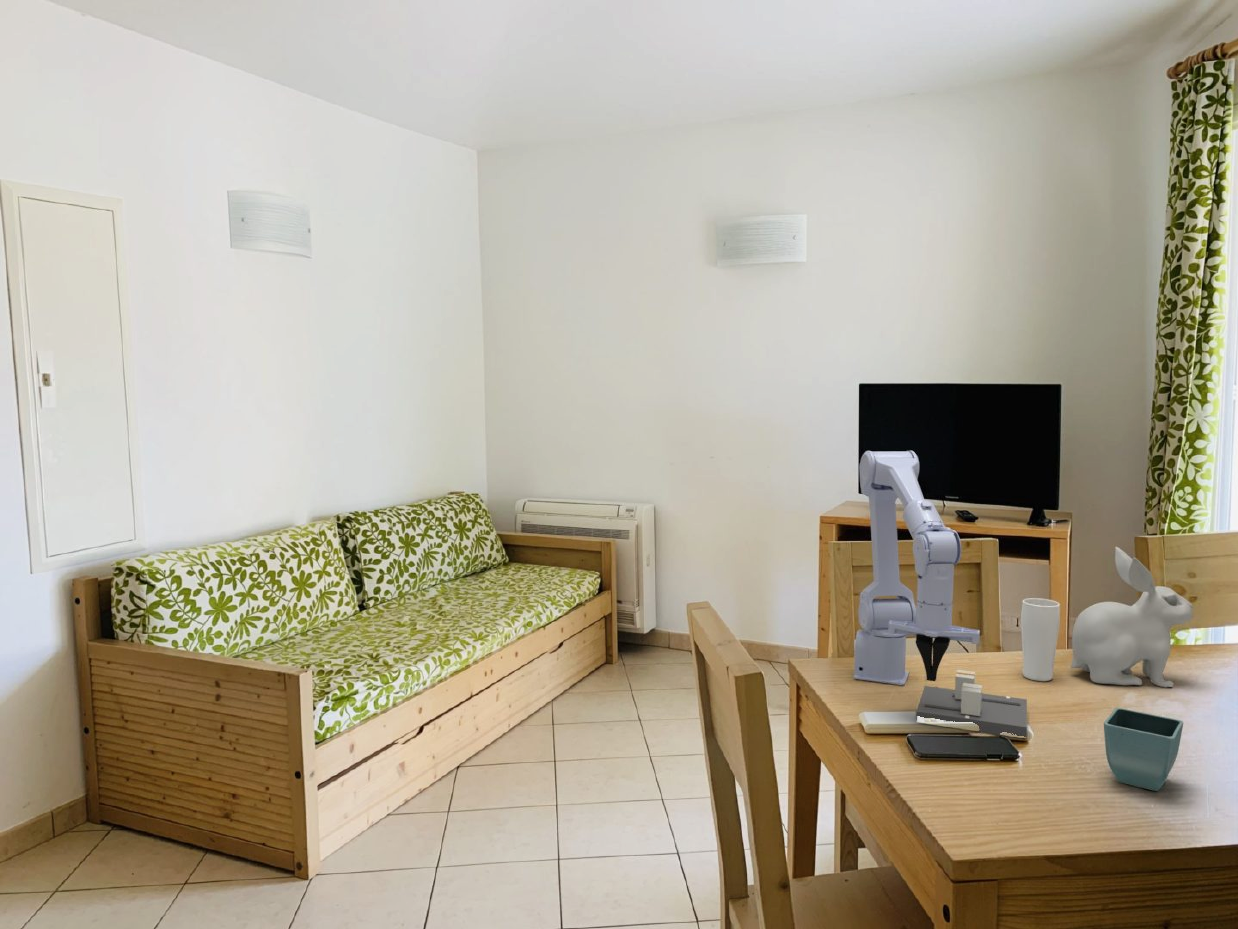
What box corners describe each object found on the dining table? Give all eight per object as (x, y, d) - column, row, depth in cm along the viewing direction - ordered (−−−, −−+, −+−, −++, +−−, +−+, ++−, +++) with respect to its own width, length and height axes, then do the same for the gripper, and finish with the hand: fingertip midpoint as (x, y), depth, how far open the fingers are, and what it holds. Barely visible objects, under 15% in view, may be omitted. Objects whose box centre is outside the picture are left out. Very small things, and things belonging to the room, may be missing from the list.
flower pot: (1112, 763, 137) (1115, 706, 136) (1180, 780, 131) (1184, 720, 130) (1099, 783, 130) (1102, 723, 129) (1170, 801, 124) (1174, 738, 123)
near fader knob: (960, 713, 151) (961, 689, 150) (962, 705, 154) (963, 682, 154) (980, 716, 150) (981, 691, 149) (981, 708, 153) (982, 684, 153)
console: (915, 723, 153) (916, 710, 152) (924, 696, 165) (924, 685, 165) (1026, 739, 146) (1026, 726, 145) (1026, 710, 158) (1026, 698, 158)
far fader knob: (954, 698, 158) (955, 675, 157) (956, 691, 161) (957, 669, 161) (973, 701, 157) (974, 678, 156) (974, 694, 160) (975, 671, 160)
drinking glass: (1049, 672, 179) (1052, 598, 177) (1062, 684, 172) (1066, 607, 171) (1013, 671, 179) (1016, 597, 178) (1025, 683, 173) (1028, 606, 171)
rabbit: (1199, 694, 167) (1208, 561, 164) (1077, 685, 171) (1084, 555, 169) (1176, 674, 178) (1184, 549, 175) (1063, 666, 183) (1069, 544, 180)
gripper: (887, 602, 152) (884, 680, 154) (979, 611, 146) (975, 693, 148) (892, 592, 159) (890, 668, 160) (981, 601, 153) (977, 679, 154)
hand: (931, 679), depth 154 cm, fingers closed
